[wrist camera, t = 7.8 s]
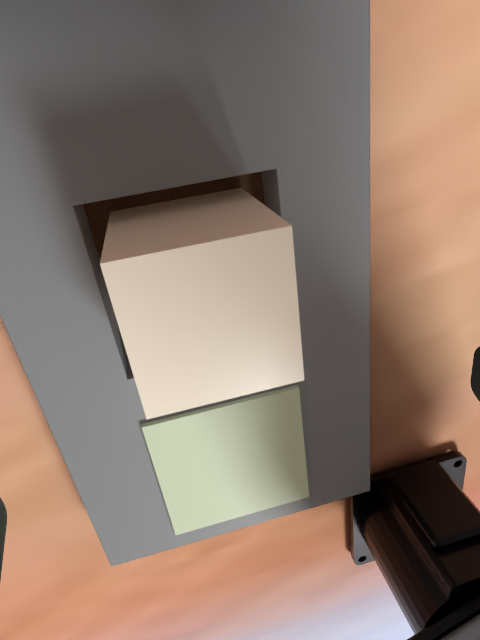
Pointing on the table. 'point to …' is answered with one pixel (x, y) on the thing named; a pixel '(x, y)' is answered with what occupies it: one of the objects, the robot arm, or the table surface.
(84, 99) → the board
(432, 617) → the robot arm
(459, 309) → the table surface
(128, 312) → the block
